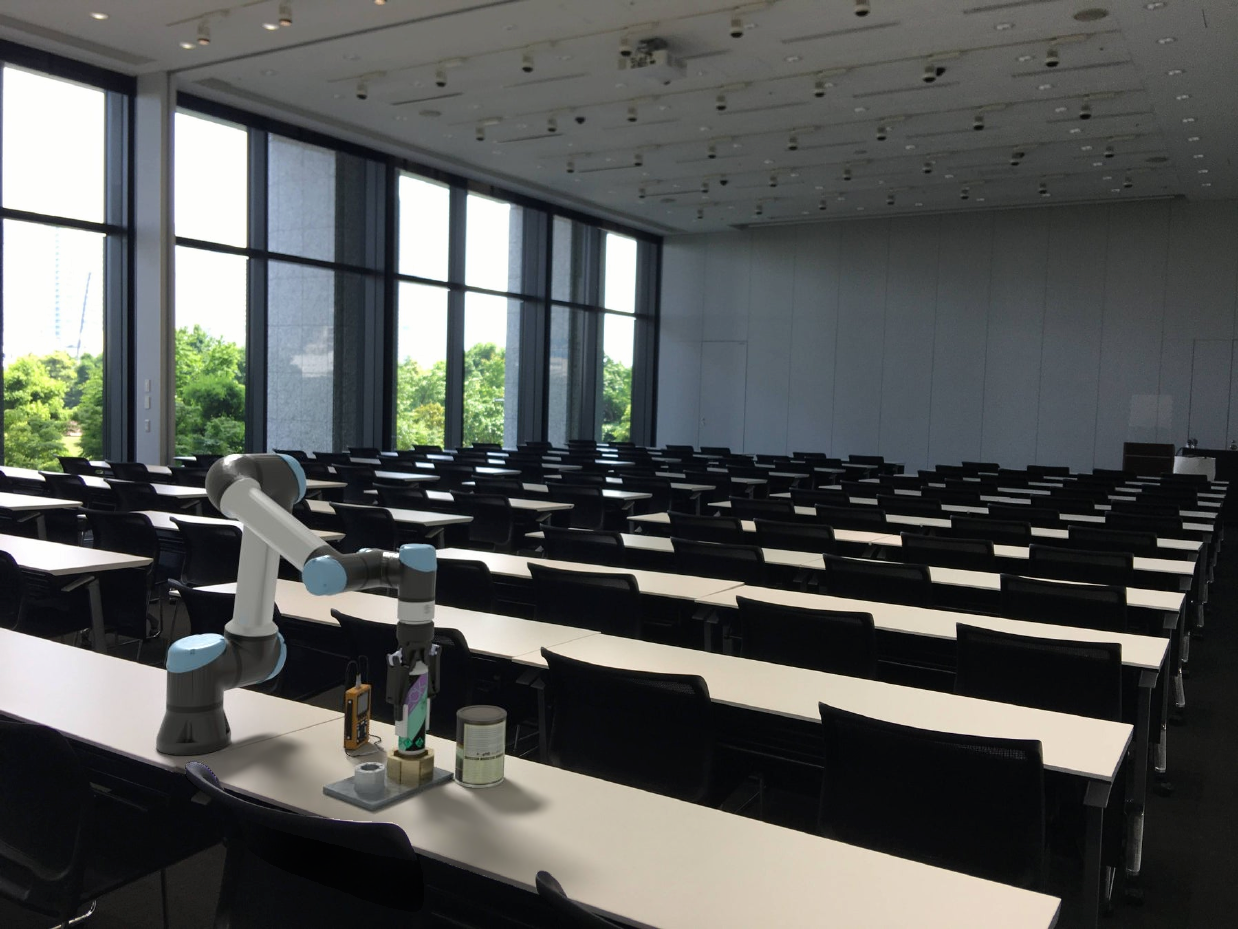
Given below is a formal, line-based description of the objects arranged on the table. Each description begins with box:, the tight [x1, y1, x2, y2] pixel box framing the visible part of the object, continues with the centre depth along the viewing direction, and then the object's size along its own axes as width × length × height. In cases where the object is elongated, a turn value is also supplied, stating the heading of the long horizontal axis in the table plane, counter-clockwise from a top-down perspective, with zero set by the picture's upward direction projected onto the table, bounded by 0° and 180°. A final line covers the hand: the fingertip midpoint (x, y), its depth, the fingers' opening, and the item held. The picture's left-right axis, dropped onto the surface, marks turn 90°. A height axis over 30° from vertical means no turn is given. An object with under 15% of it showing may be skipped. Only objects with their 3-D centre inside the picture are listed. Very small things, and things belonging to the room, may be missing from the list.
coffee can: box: [453, 704, 508, 789], centre depth 201 cm, size 10×10×14 cm
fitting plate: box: [322, 746, 455, 812], centre depth 195 cm, size 14×22×5 cm, turn 146°
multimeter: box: [343, 655, 387, 758], centre depth 217 cm, size 15×10×20 cm
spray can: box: [397, 659, 428, 755], centre depth 199 cm, size 6×6×20 cm
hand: (412, 731), depth 199 cm, fingers closed on spray can, 5 cm apart
